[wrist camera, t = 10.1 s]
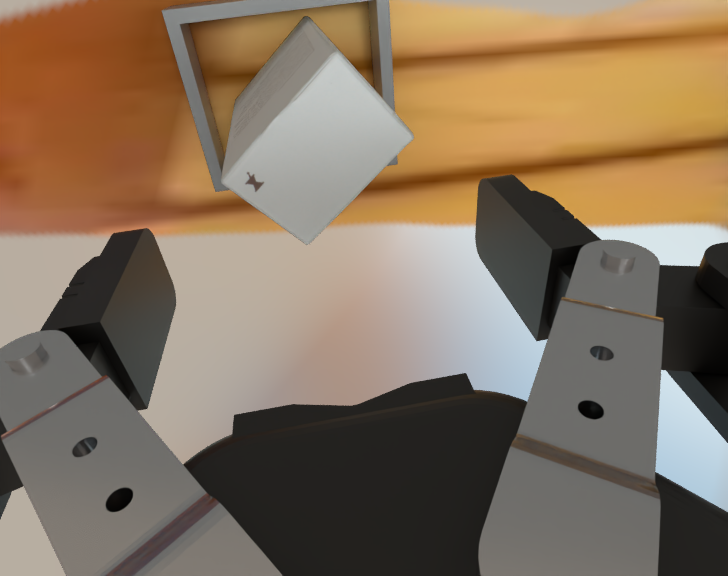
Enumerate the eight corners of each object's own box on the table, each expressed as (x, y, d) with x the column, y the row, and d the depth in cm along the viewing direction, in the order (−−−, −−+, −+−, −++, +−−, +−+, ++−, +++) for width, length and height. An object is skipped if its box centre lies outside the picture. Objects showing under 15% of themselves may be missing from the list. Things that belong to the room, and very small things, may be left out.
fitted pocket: (377, -19, 24) (388, -17, 22) (388, 149, 29) (397, 164, 27) (170, 6, 23) (161, 10, 21) (219, 175, 28) (215, 191, 26)
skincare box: (292, 151, 28) (305, 251, 19) (233, 99, 26) (213, 183, 16) (364, 72, 26) (419, 138, 17) (307, 10, 24) (333, 44, 15)
